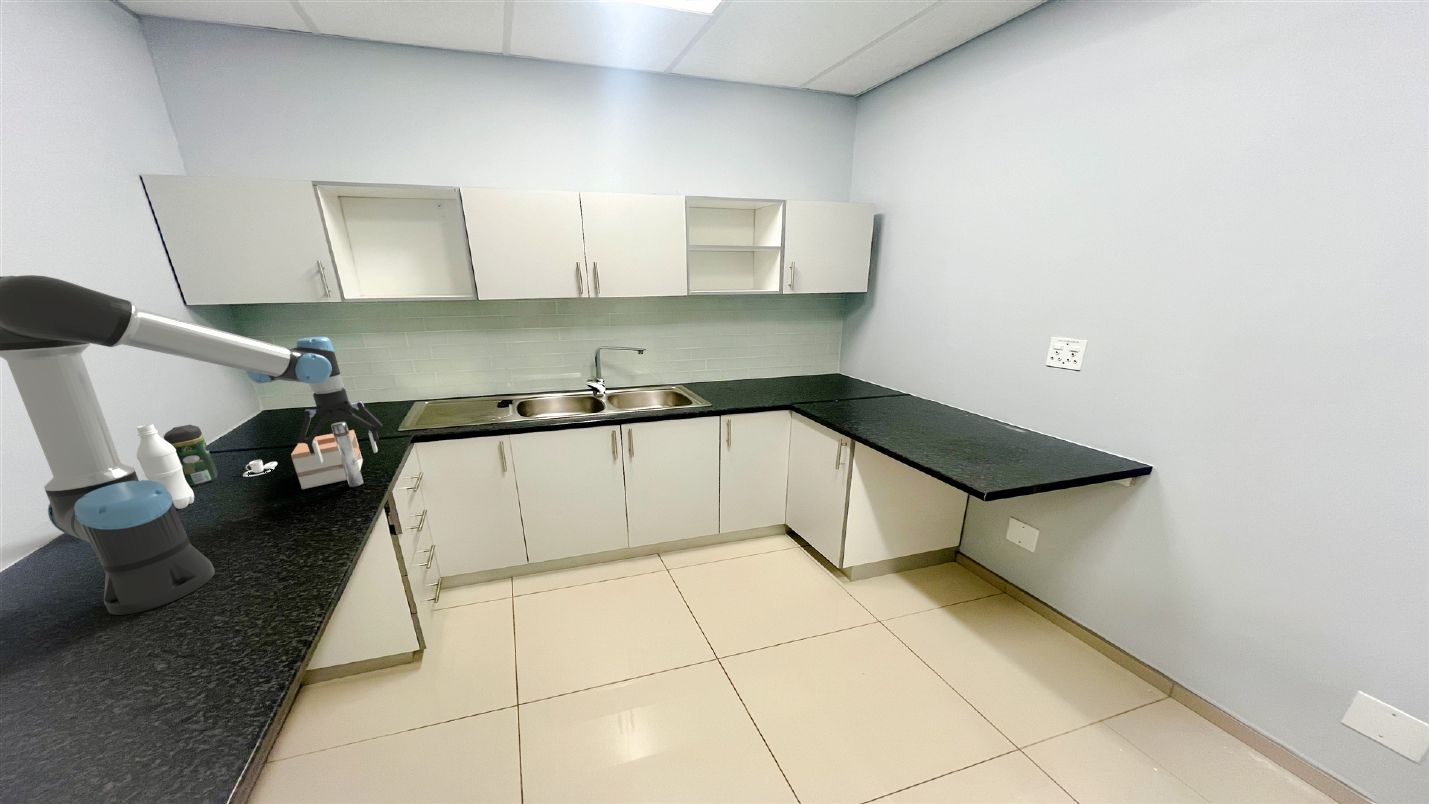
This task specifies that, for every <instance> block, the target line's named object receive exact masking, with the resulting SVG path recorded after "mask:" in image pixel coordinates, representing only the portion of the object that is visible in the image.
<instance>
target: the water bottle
mask: <svg viewBox="0 0 1429 804" xmlns="http://www.w3.org/2000/svg"><path fill="white" fill-rule="evenodd" d="M136 429H137V431H138V432H137V433H138V435H137V436H139V437H140V438H139V439H140V442H139V445H138V448H137V451H136V460H138V462H139V464H140V467H141V469H142V472H143V474H144V476H145V477H146V480H151V481H156V482H159V483H161V484H163V485H164V486H165V487H166V489H167V491H168V492H169V493H170V494H171V496H172V499H173V500H172V501H173V504H174V506H175V508H176V509H177V510H182V509H184V508H187V507H188V505H192V504H193V503H194V501H195V494H194V491H193V489H192V488H191V486H189V485H188V484H187V482H186V480H185V477H184V474H183V469H182V465H181V463H180V461H179V458H178V456H177V453H176V449H175V448H174V447H173V446H172V445H171V444H170V443H168V442H167V441H165V440H164V438H162V437H161V436H160V435H159V434H158V432H159V431H158V430H157V429H156V428H155V425H154V423H148V424H143V425H142V424H141V425H139V426H136Z"/></svg>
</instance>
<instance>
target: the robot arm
mask: <svg viewBox="0 0 1429 804" xmlns="http://www.w3.org/2000/svg"><path fill="white" fill-rule="evenodd" d="M295 343H296V346H295V347H293V348H288V347H284V346H281V345H278V344H275V343H269V342H267V341H262V340H258V339H254V338H251V337H248V336H243V335H239V334H235V333H231V332H229V331H228V332H227V331H224V330H220V329H217V328H212V327H209V326H205V325H203V324H197V323H194V322H189V321H186V320H183V319H178V318H175V317H171V316H167V315H163V314H160V313H156V312H152V311H147V310H144V309H140V308H138V307H137V306H136V305H135V304H134V303H133V301H131V300H127V299H123V298H120V297H117V296H112V295H109V294H107V293H103V292H99V291H96V290H93V289H90V288H87V287H85V286H83V285H82V286H81V285H79V284H75V283H73V282H69V281H67V280H63V279H60V278H55V277H51V276H44V275H35V274H33V275H27V274H26V275H17V276H16V275H6V276H5V275H4V276H0V358H2V359H4V360H5V361H6V362H7V365H8V367H9V370H10V373H11V374H12V377H13V380H14V383H15V384H16V385H15V386H16V387H17V390H18V392H19V395H20V398H21V400H22V402H23V405H24V407H25V410H26V412H27V414H28V417H29V419H30V422H31V424H32V427H33V429H34V430H33V431H34V432H35V434H36V437H37V439H38V441H39V444H40V446H41V449H42V452H43V454H44V456H45V459H46V461H47V465H48V467H49V468H50V472H51V475H52V478H51V479H50V480H49V481H48V482H47V483H46V484H45V485H44V487H43V489H44V490H45V491H44V492H45V494H46V496H47V499H48V501H49V504H48V507H47V514H48V519H49V521H50V522H51V524H52V525H53V526H54V527H55V528H56V529H57V530H59V531H61V532H62V533H64V534H67V535H70V536H71V537H76V538H78V539H80V540H83V541H84V542H87V543H89V544H90V545H91V547H92V549H93V551H94V553H95V555H96V556H97V559H98V561H99V563H100V565H101V567H102V569H103V570H104V573H105V579H104V592H103V593H104V594H103V603H104V606H105V607H106V609H107V611H108V613H110V614H111V615H119V616H121V615H122V616H123V615H131V614H137V613H141V612H146V611H149V610H152V609H155V608H156V609H157V608H159V607H161V606H164V605H167V604H169V603H172V602H174V601H176V600H179V599H181V598H183V597H185V596H187V595H189V594H191V593H193V592H195V591H196V590H198V589H200V588H201V587H202V586H204V585H206V584H207V583H208V582H210V580H211V579H212V578H213V577H214V576H215V573H216V570H215V568H214V566H213V563H212V561H211V560H210V559H208V557H206V556H205V555H204V554H203V553H202V552H200V551H199V549H197V548H196V547H194V546H193V544H191V542H190V539H189V538H188V535H187V533H186V531H185V529H184V528H185V527H184V526H183V523H182V521H181V518H180V516H179V514H178V511H177V508H176V507H175V506H174V504H173V501H172V500H173V499H172V496H171V494H170V493H169V492H168V491H167V489H166V487H165V486H164V485H163V484H161V483H159V482H156V481H151V480H148V479H142V480H139V478H138V474H137V472H136V469H135V467H132V466H131V465H130V466H129V465H126V464H124V463H122V462H121V460H120V457H119V454H118V452H117V449H116V447H115V443H114V441H113V438H112V436H111V432H110V430H109V427H108V424H107V422H106V419H105V416H104V413H103V410H102V408H101V404H100V403H99V399H98V396H97V393H96V392H95V388H94V385H93V383H92V380H91V377H90V375H89V372H88V369H87V366H86V364H85V363H86V362H85V361H84V358H83V355H82V354H83V352H84V351H85V350H87V349H88V348H89V346H91V344H92V345H99V346H104V347H108V348H115V347H117V346H121V345H123V346H129V347H133V348H137V349H138V348H139V349H143V350H147V351H152V352H158V353H162V354H167V355H172V356H176V357H181V358H186V359H189V360H190V359H191V360H195V361H199V362H200V361H201V362H205V363H210V364H214V365H217V366H218V365H219V366H223V367H227V368H228V367H229V368H233V369H237V370H238V369H239V370H242V371H245V373H246V374H247V376H248V377H249V379H250V380H251V381H252V382H254V383H256V384H266V383H272V382H275V381H284V382H285V381H287V382H296V383H304V384H309V387H310V391H311V392H312V393H313V394H312V396H313V399H314V403H315V406H316V408H315V409H310V408H307V409H305V410H304V411H303V417H304V420H303V422H302V426H301V429H300V433H299V435H298V438H297V444H298V443H306V444H307V445H308V448H309V451H310V453H311V454H313V453H315V455H316V458H317V461H318V464H322V462H323V458H322V455H321V452H320V449H319V446H318V443H317V441H313V440H314V438H315V437H316V436H318V434H319V433H320V431H321V429H322V428H323V427H324V425H325V424H326V423H327V422H331V423H332V422H337V421H344V420H345V419H348V420H350V421H352V422H354V423H355V424H358V425H359V426H361V427H362V428H365V429H366V430H368V436H369V440H370V443H371V447H372V451H373V453H374V454H375V453H378V450H379V449H378V447H377V444H376V443H377V442H379V439H380V438H379V435H378V431H379V430H380V429H383V423H382V422H381V421H380V420H379V419H378V418H377V417H376V416H374V415H373V413H371V411H369V409H368V408H366V407H365V405H364V403H363V401H362V400H357V402H353V403H350V401H349V397H348V394H347V391H346V389H345V388H344V387H345V384H344V381H343V377H342V374H341V371H340V368H339V364H338V361H337V356H336V351H335V349H334V347H333V343H332V342H331V339H329V338H328V337H327V336H311V337H310V336H309V337H304V338H299V339H297V340H296V342H295ZM352 409H355V410H358V411H359V412H360V413H361V414H362V415H363V416H364V417H365V418H367V419H368V421H369V422H367V421H366V420H364V419H363V418H361V417H359V416H358V415H357V414H355V413H353V412H352ZM315 415H318V416H319V417H321V418H320V421H319V422H318V424H317V425H316V426H315V428H314V429H313V431H312V432H311V434H310V436H309V437H306V435H307V433H308V430H309V427H310V424H311V420H312V418H313V417H314V416H315ZM370 422H371V423H370Z"/></svg>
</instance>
